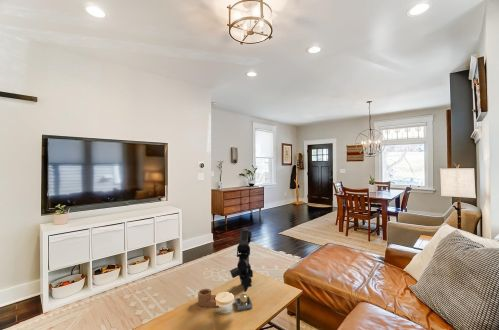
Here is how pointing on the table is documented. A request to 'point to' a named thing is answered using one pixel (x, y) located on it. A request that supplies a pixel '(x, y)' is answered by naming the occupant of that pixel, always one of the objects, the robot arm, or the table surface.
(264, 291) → the table surface
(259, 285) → the table surface
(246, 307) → the bearing block
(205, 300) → the bracket
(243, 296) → the brass spacer
